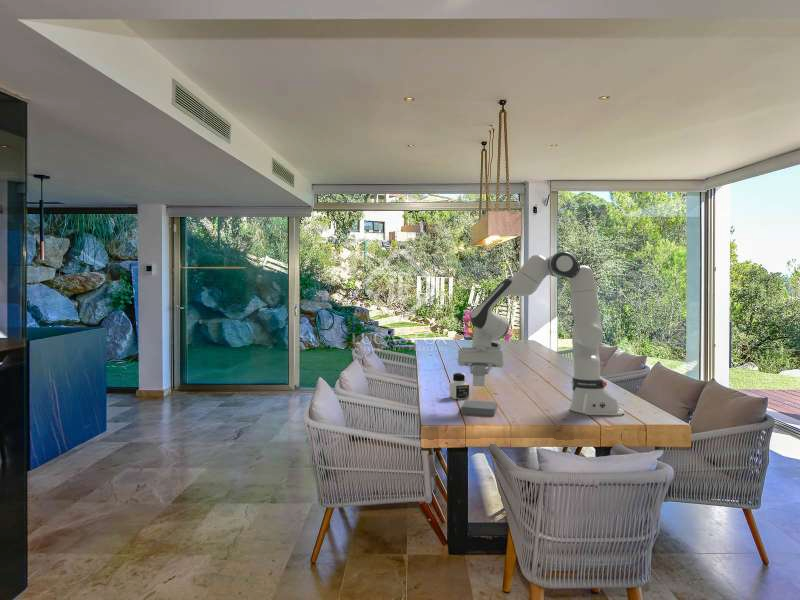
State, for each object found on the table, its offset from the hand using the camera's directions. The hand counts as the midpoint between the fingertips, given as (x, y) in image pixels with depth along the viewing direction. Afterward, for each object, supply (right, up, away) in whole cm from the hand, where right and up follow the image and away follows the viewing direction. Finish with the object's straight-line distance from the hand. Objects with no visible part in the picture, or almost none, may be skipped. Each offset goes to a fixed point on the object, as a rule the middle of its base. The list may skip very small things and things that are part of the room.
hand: (479, 373), depth 233 cm
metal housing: (0, -5, +1) cm, 5 cm away
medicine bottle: (-6, -16, +29) cm, 34 cm away
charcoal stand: (0, -17, +1) cm, 17 cm away
